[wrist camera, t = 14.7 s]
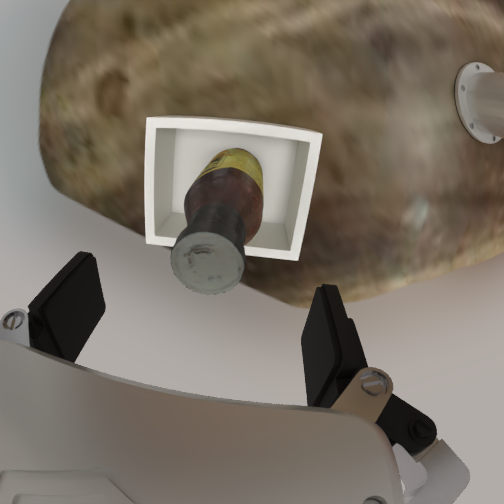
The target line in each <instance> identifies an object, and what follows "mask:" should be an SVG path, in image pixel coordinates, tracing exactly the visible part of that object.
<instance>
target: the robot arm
mask: <svg viewBox="0 0 504 504" xmlns="http://www.w3.org/2000/svg"><path fill="white" fill-rule="evenodd" d="M455 99H456V106H457V110H458V113H459V116H460V118H461V121H462V123H463V125H464V127H465V128H466V129H467V131H468V132H469V134H470V135H471V136H472V137H473V138H475V139H476V140H478V141H480V142H483V143H487V144H494V143H496V142H498V141H499V140H501V139H502V138H504V72H495V71H494V70H492V69H491V68H490V67H489V66H487V65H485V64H483V63H480V62H472V63H468V64H466V65H464V66H463V67H462V68H461V70H460V71H459V73H458V75H457V79H456V84H455ZM105 307H106V306H105V301H104V297H103V292H102V288H101V283H100V278H99V273H98V268H97V262H96V258H95V257H93V255H92V253H88V252H82V251H80V252H78V253H77V254H76V255H75V256H74V257H73V258H72V259H71V260H70V261H69V262H68V263H67V264H66V265H65V266H64V267H63V268H62V269H61V270H60V271H59V272H58V273H57V274H56V275H55V276H54V278H53V279H52V280H51V281H50V282H49V283H48V284H47V285H46V286H45V287H44V288H43V290H42V291H41V292H40V293H39V294H38V295H37V296H36V297H35V298H34V300H33V301H32V302H31V303H30V304H29V306H28V308H29V310H30V311H29V313H27V312H26V311H25V310H23V309H13V310H11V311H9V312H7V313H6V314H5V315H4V316H3V317H2V319H1V321H0V504H453V503H454V501H455V500H456V499H457V498H458V497H459V495H460V494H461V493H462V492H463V490H464V489H465V488H466V487H467V485H468V483H469V480H470V472H469V470H468V468H467V467H466V465H465V464H464V463H463V462H462V461H461V459H460V458H459V457H457V455H456V454H455V453H454V452H453V450H452V449H451V448H450V447H449V446H448V445H447V444H446V443H445V441H444V440H443V439H441V440H440V441H439V440H438V439H437V438H436V435H437V429H436V426H435V424H434V422H433V421H432V420H431V419H430V418H429V417H428V416H426V415H425V414H423V413H422V412H420V411H419V410H417V409H416V408H414V407H412V406H411V405H409V404H408V403H406V402H405V401H403V400H402V399H400V398H399V397H397V396H395V395H394V394H393V393H392V391H393V382H392V380H391V378H390V377H389V376H388V374H387V373H385V372H384V371H382V370H380V369H377V368H373V367H368V365H367V361H366V358H365V355H364V352H363V348H362V345H361V342H360V339H359V336H358V333H357V330H356V327H355V324H354V321H353V319H351V318H348V317H347V314H346V311H345V308H344V305H343V302H342V299H341V296H340V293H339V290H338V287H337V286H336V285H329V284H322V286H321V287H317V288H316V291H315V295H314V298H313V301H312V305H311V308H310V311H309V314H308V317H307V321H306V324H305V327H304V330H303V333H302V337H301V346H302V355H303V364H304V373H305V383H306V393H307V404H308V406H297V405H283V404H270V403H259V402H250V401H241V400H232V399H224V398H217V397H210V396H203V395H198V394H192V393H186V392H181V391H176V390H170V389H166V388H161V387H157V386H152V385H148V384H143V383H139V382H135V381H132V380H128V379H124V378H120V377H117V376H113V375H110V374H106V373H103V372H100V371H96V370H93V369H90V368H87V367H84V366H81V365H78V364H75V363H74V362H75V361H76V359H77V357H78V355H79V354H80V352H81V350H82V348H83V347H84V345H85V343H86V342H87V340H88V338H89V337H90V335H91V333H92V332H93V330H94V328H95V327H96V325H97V324H98V322H99V320H100V319H101V317H102V316H103V314H104V312H105ZM399 473H400V474H399ZM400 478H401V479H402V481H403V483H404V485H405V492H404V495H403V490H402V485H401V479H400Z"/></svg>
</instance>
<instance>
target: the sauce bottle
mask: <svg viewBox="0 0 504 504" xmlns="http://www.w3.org/2000/svg"><path fill="white" fill-rule="evenodd" d="M263 207H264V194H263V172H262V168H261V165H260V164H259V161H258V160H257V158H255V157H254V156H253V155H252V154H251V153H250V152H248V151H246V150H244V149H240V148H232V149H227V150H224V151H221V152H220V153H218V154H217V155H215V156H214V157H213V159H212V160H211V161H210V162H209V163H208V165H207V166H206V167H205V168H204V169H203V171H202V172H201V173H200V175H199V176H198V177H197V179H196V180H195V181H194V183H193V184H192V185H191V187H190V188H189V190H188V191H187V194H186V196H185V200H184V212H185V217H186V221H187V227H186V228H185V229H184V230H183V231H181V233H180V234H179V236H178V237H177V239H176V242H175V244H174V246H173V249H172V251H171V265H172V269H173V271H174V274H175V276H176V277H177V278H178V279H179V281H181V283H183V285H185V286H186V287H187V288H189V289H191V290H193V291H194V292H197V293H201V294H206V295H211V294H214V295H215V294H219V293H225V292H226V291H228V290H230V289H232V288H233V287H234V286H235V285H237V284H238V282H239V281H240V279H241V277H242V275H243V272H244V268H245V248H244V245H246V244H247V243H248V242H249V241H251V240H252V239H253V238H254V236H255V235H256V234H257V232H258V230H259V228H260V226H261V222H262V217H263V215H262V213H263Z"/></svg>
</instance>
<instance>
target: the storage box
mask: <svg viewBox="0 0 504 504" xmlns="http://www.w3.org/2000/svg"><path fill="white" fill-rule="evenodd" d="M322 135H323V134H321V133H319V132H316V131H313V130H310V129H306V128H300V127H294V126H288V125H282V124H275V123H267V122H259V121H251V120H242V119H231V118H219V117H204V116H180V115H169V116H156V117H147V122H146V140H145V230H146V243H147V244H154V245H163V246H172V247H173V246H174V244H175V242H176V239H177V237H178V236H179V234H180V233H181V231H183V230H184V229H185V228H186V227H187V221H186V217H185V212H184V200H185V196H186V194H187V191H188V190H189V188H190V187H191V185H192V184H193V183H194V181H195V180H196V179H197V177H198V176H199V175H200V173H201V172H202V171H203V169H204V168H205V167H206V166H207V165H208V163H209V162H210V161H211V160H212V159H213V157H214V156H215V155H217V154H218V153H220V152H221V151H224V150H227V149H232V148H240V149H244V150H246V151H248V152H250V153H251V154H252V155H253V156H254V157H255V158H257V160H258V161H259V164H260V165H261V168H262V172H263V194H264V207H263V213H262V215H263V217H262V222H261V226H260V228H259V230H258V232H257V234H256V235H255V236H254V238H253V239H252V240H251V241H249V242H248V243H247V244H246V245H244V248H245V255H251V256H260V257H269V258H277V259H286V260H295V261H298V258H299V254H300V249H301V245H302V240H303V235H304V231H305V226H306V221H307V216H308V211H309V206H310V201H311V196H312V191H313V186H314V181H315V175H316V170H317V164H318V159H319V153H320V147H321V141H322Z"/></svg>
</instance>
